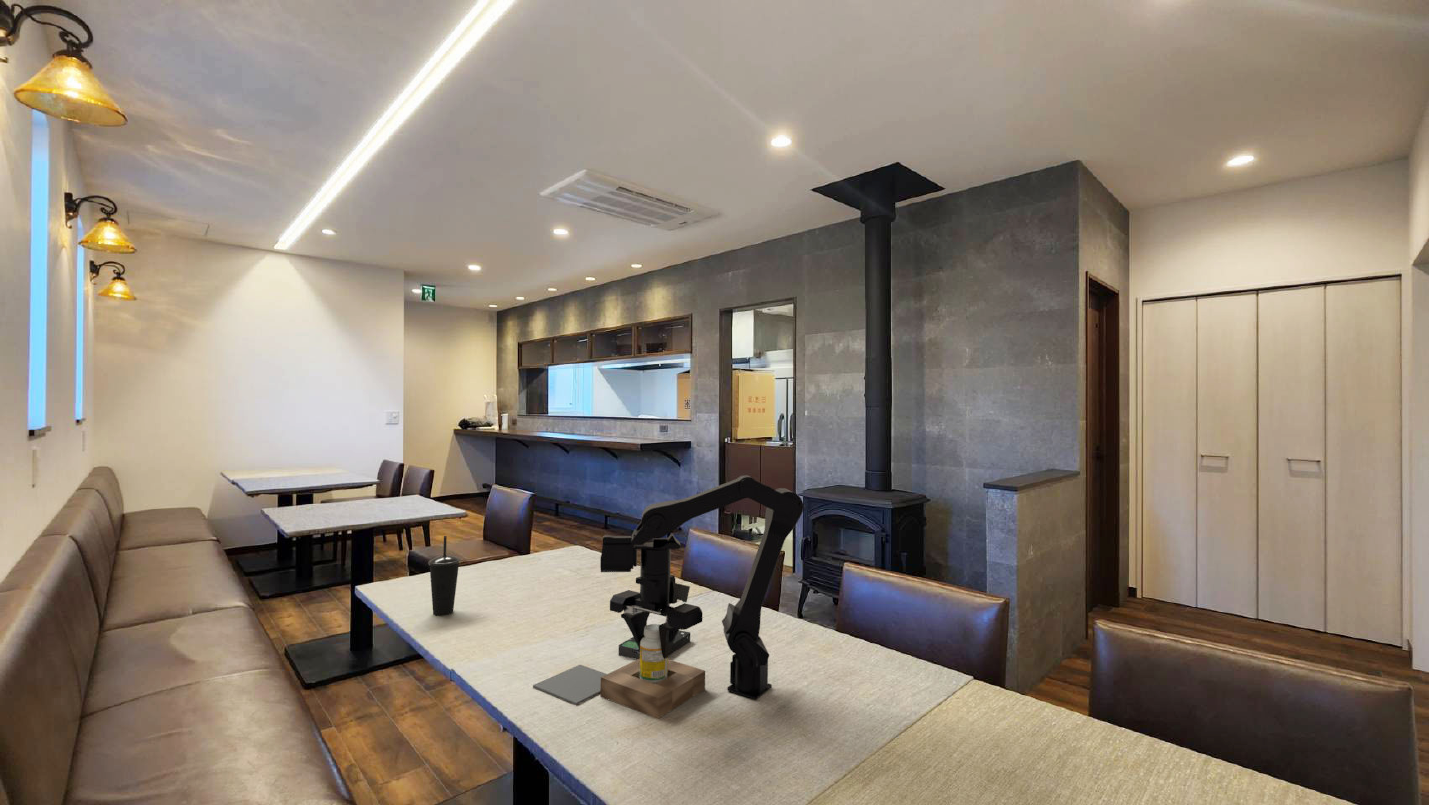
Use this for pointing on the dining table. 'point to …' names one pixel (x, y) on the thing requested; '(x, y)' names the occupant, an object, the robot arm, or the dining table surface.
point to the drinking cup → (443, 582)
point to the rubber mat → (573, 684)
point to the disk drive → (632, 650)
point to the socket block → (652, 688)
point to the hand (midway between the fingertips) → (654, 654)
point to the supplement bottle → (652, 656)
